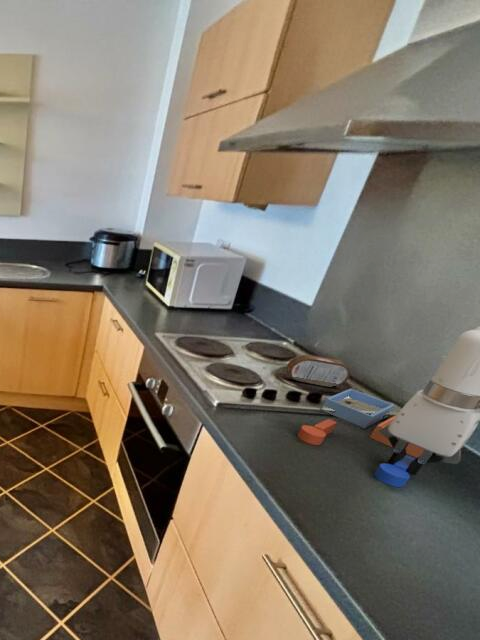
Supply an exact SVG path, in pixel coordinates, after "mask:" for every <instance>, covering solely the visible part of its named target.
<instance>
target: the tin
mask: <svg viewBox="0 0 480 640" xmlns="http://www.w3.org/2000/svg"><path fill="white" fill-rule="evenodd" d="M285 369H286V370H285V371H286V374H287V375H288V374H289V375H288V376H289V377H290V376H291V377H299V378H304V379H311V380H318V381H324V382H331V383H336V384H339V385H340V386H342V385H343V384H345V383H346V382H347V381H348V379H349V378H350V375H351V371H350V368H349V367H348V365H347V364H346V363H345V362H344V361H342V360H340V359H334V358H328V357H324V356H319V355H312V354H301V355H298V356H296V357H294V358H292V359H291V360H290V361H288V363H287V365H286V368H285ZM291 377H290V378H291Z"/></svg>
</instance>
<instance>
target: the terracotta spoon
mask: <svg viewBox="0 0 480 640" xmlns="http://www.w3.org/2000/svg"><path fill="white" fill-rule="evenodd" d="M337 423H338V422H337V421H334V420H332V419H330V418H327V419H325V420H323V421H321V422H318V423H316V424H315V425H307V424H303V425H302V426H301V427H300V429H299V431H298V433H297V435H296V436H297V438H298V439H299V440H300V441H302V442H305V443H307V444H309V445H313V446H321V444H322V443H323V442H324V440H325V438H326V436H327V435H329V434H330V433H332V432H333V431H334V429H335V427H336V426H337Z"/></svg>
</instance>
